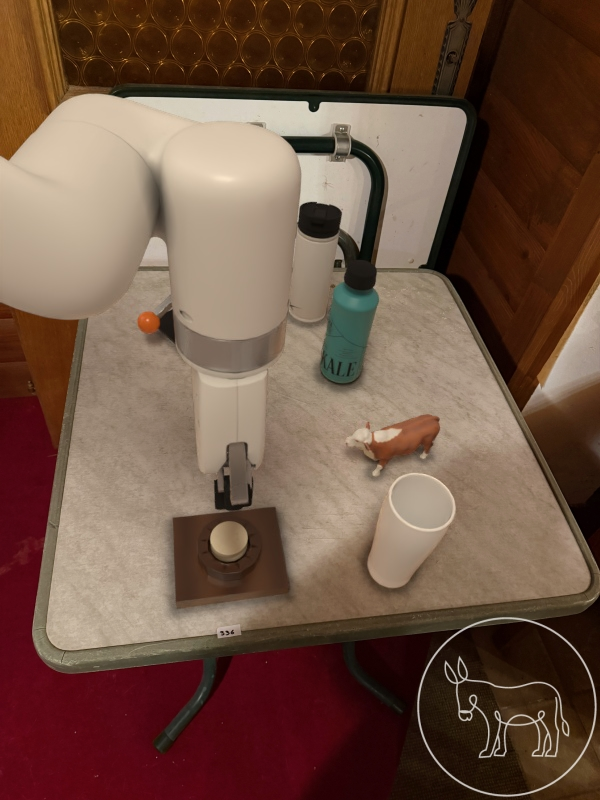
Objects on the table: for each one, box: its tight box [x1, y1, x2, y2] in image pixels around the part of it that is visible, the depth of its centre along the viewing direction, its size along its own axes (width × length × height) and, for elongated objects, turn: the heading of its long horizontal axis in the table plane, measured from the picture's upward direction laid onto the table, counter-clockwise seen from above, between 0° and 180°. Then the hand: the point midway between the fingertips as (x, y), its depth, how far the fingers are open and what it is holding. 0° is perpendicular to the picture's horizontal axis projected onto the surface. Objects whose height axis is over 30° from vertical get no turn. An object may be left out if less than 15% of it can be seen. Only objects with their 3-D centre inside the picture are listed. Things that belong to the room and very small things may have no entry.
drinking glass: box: [366, 472, 457, 589], centre depth 60 cm, size 7×7×15 cm
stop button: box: [210, 521, 248, 562], centre depth 61 cm, size 4×4×2 cm
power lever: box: [136, 294, 173, 335], centre depth 82 cm, size 13×3×3 cm, turn 134°
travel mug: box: [288, 201, 343, 325], centre depth 87 cm, size 6×7×20 cm
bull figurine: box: [344, 413, 441, 477], centre depth 73 cm, size 4×13×8 cm, turn 111°
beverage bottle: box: [319, 259, 380, 384], centre depth 78 cm, size 6×7×20 cm
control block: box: [172, 506, 290, 610], centre depth 63 cm, size 12×10×4 cm
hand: (229, 473), depth 51 cm, fingers open, 5 cm apart
